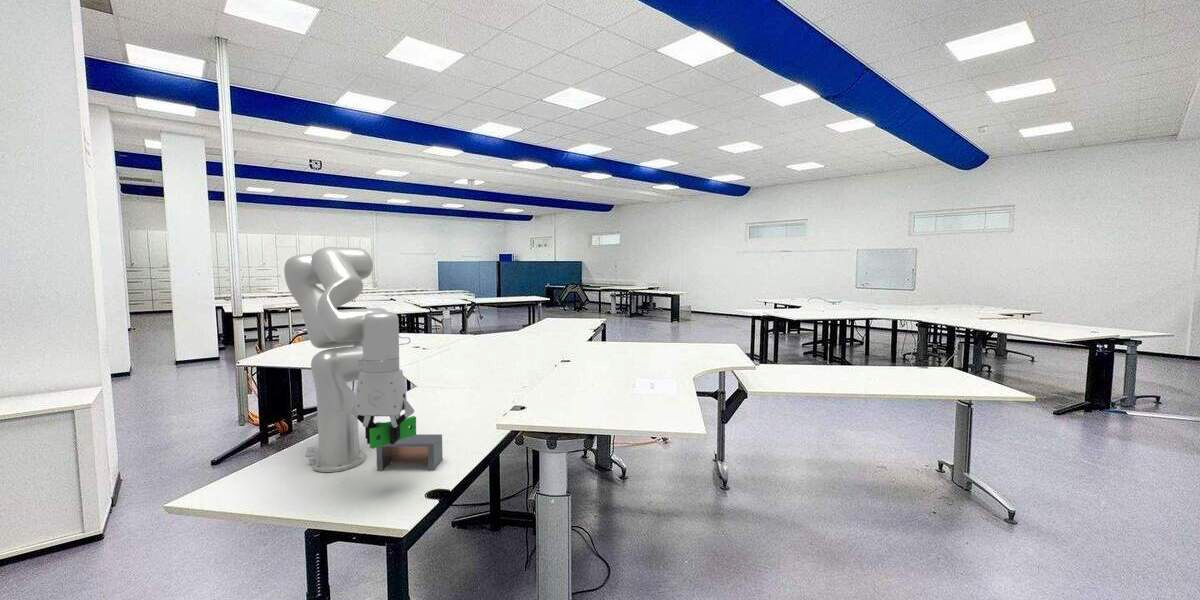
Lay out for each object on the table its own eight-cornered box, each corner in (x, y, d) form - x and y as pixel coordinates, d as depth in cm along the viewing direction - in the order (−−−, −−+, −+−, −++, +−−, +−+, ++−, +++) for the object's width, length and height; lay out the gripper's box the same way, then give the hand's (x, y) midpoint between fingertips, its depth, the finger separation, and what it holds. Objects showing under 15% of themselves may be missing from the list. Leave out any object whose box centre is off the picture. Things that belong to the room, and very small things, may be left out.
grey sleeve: (377, 470, 121) (376, 443, 120) (388, 460, 128) (387, 434, 127) (434, 470, 121) (433, 443, 121) (442, 460, 128) (442, 434, 127)
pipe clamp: (407, 431, 116) (407, 413, 115) (416, 434, 114) (416, 416, 113) (363, 445, 107) (363, 425, 106) (372, 449, 104) (372, 429, 104)
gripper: (335, 368, 102) (337, 447, 104) (412, 369, 102) (413, 449, 104) (353, 361, 110) (355, 435, 111) (424, 362, 110) (425, 436, 112)
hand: (383, 441), depth 108 cm, fingers closed on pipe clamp, 4 cm apart
